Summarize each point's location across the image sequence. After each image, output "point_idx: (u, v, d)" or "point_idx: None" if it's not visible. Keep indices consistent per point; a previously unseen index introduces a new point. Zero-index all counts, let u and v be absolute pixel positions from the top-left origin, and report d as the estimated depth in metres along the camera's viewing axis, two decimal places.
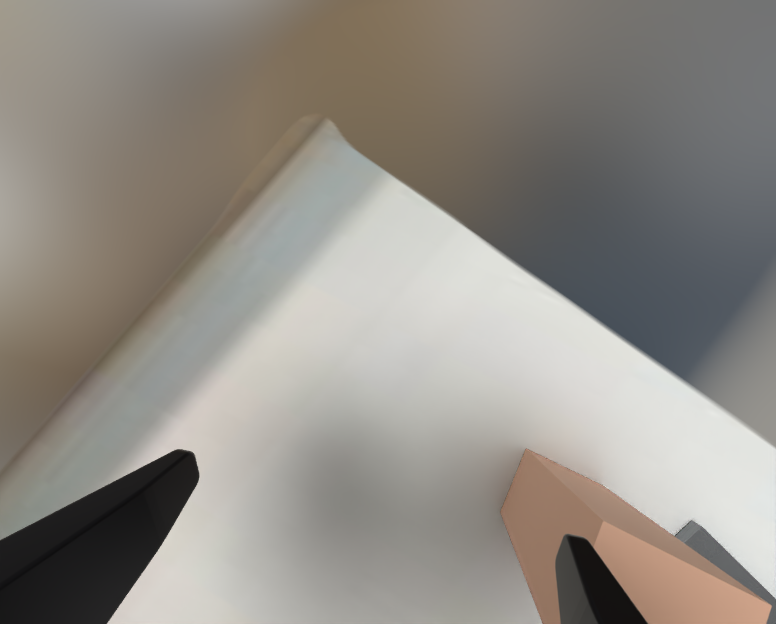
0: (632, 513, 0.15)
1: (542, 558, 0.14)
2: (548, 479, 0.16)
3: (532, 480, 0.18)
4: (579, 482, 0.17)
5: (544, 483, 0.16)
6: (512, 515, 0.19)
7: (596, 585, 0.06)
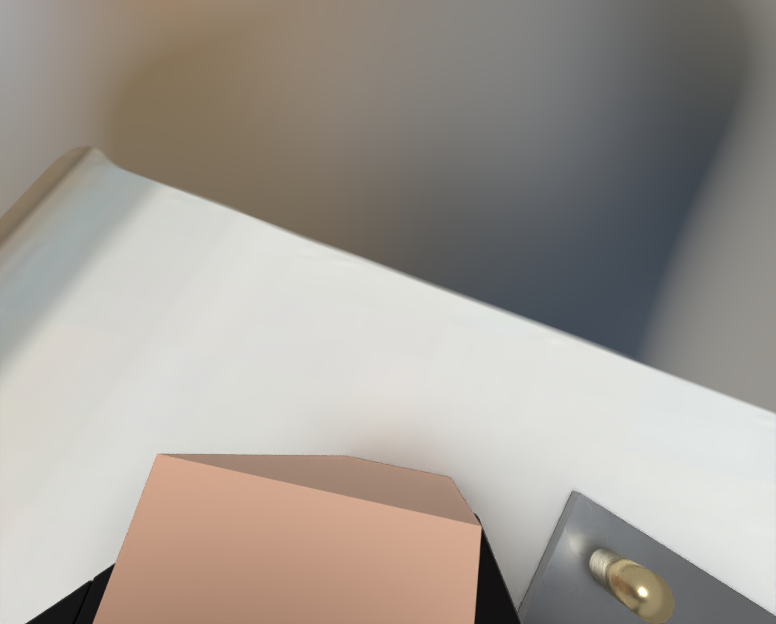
0: (410, 479, 0.09)
1: None
2: None
3: None
4: (364, 465, 0.11)
5: None
6: None
7: None
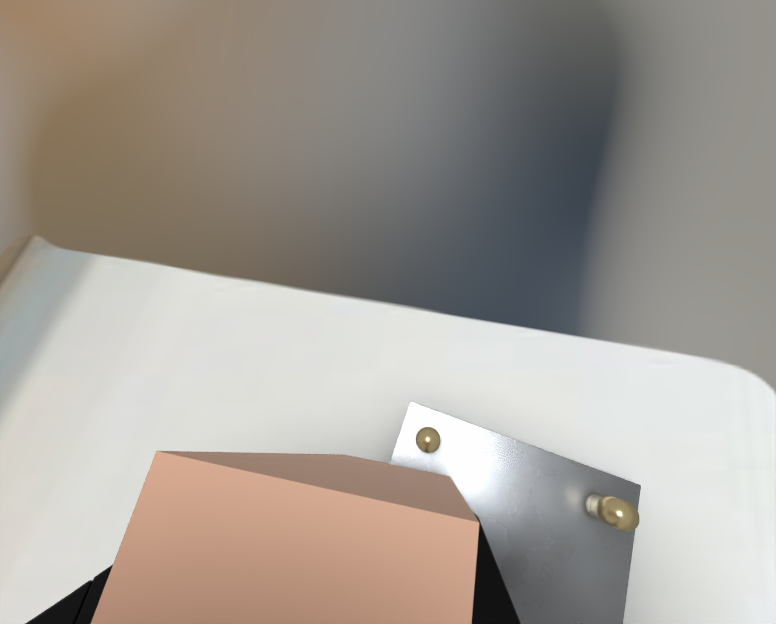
0: (409, 478, 0.09)
1: None
2: None
3: None
4: (364, 464, 0.11)
5: None
6: None
7: None
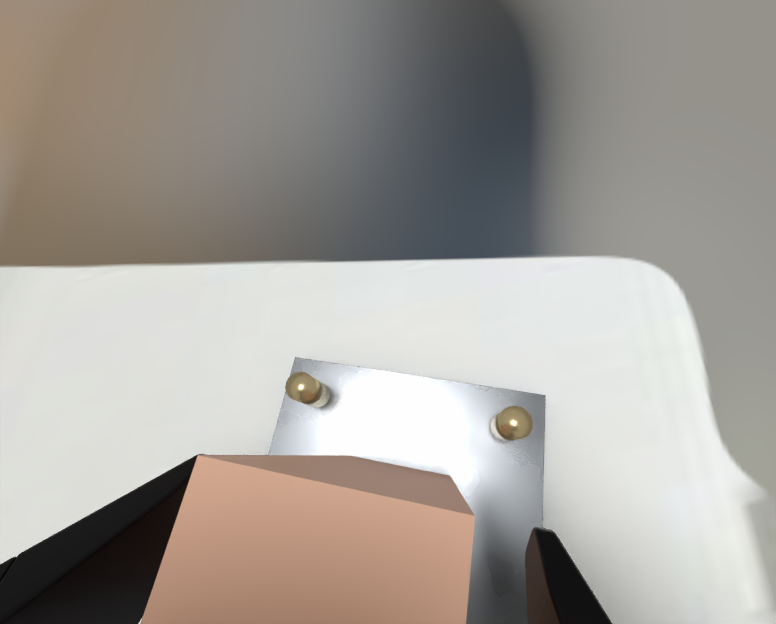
0: (413, 478, 0.10)
1: None
2: None
3: None
4: (370, 465, 0.12)
5: None
6: None
7: (558, 576, 0.06)
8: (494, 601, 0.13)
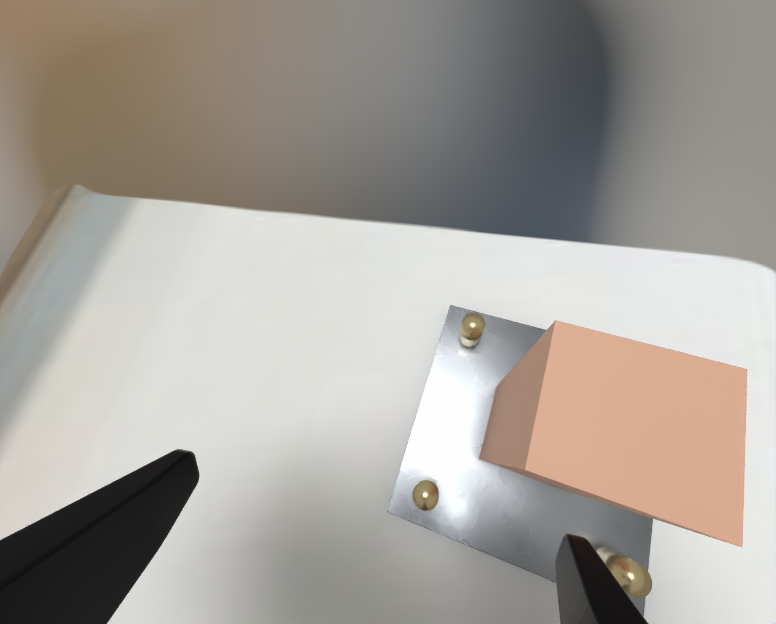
0: None
1: (512, 426, 0.12)
2: (514, 371, 0.15)
3: (502, 394, 0.17)
4: None
5: (511, 380, 0.15)
6: (488, 443, 0.17)
7: (596, 585, 0.06)
8: (615, 507, 0.17)
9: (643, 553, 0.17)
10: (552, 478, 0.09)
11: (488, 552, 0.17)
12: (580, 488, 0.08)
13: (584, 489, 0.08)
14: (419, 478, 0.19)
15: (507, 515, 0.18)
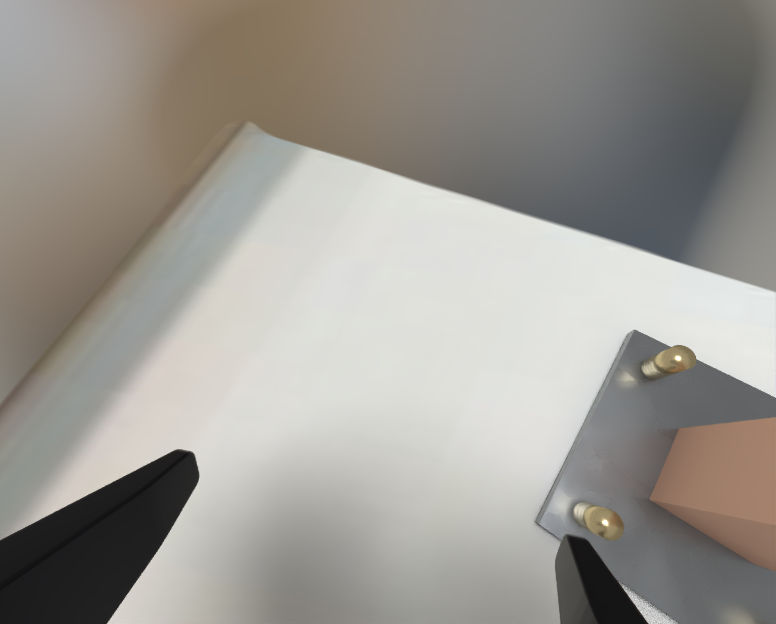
0: None
1: None
2: (767, 425, 0.13)
3: (720, 443, 0.15)
4: None
5: (757, 433, 0.14)
6: (687, 489, 0.15)
7: (596, 585, 0.06)
8: None
9: None
10: None
11: (649, 600, 0.16)
12: None
13: None
14: (578, 500, 0.18)
15: (676, 568, 0.16)
